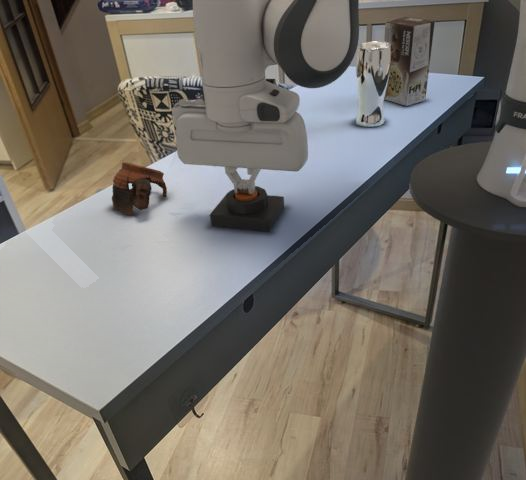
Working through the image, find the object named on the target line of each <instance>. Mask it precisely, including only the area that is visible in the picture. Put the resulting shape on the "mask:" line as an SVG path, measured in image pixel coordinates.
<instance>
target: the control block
mask: <svg viewBox="0 0 526 480" xmlns="http://www.w3.org/2000/svg"><path fill="white" fill-rule="evenodd" d="M255 190H256V191H257V194H258V197H257V198H255V199H253V200H248V201H240V200H237V199H235V191H234V188H233V189H231V190H229V191H228V192H227V193H226V194H225V195H224V196H223V198H222V199H221V200H220V201H219V202H218V204H217V205H216V206H215V208H213V210H212V211H211V212H210V213H209V218H210V224H211V227H214V228H215V227H216V228H225V229H236V230H243V231H244V230H245V231H254V232H265V233H271V231H272V230H273V228H274V227H275V225H276V224H277V221H279V218H280V217H281V215H282V214H283V211H284V210H285V197H284V196H282V195H281V196H280V195H268V192H267V191H266V189H265V188H263V187H261V186H258V185H255Z"/></svg>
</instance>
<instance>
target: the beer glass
mask: <svg viewBox="0 0 526 480" xmlns="http://www.w3.org/2000/svg"><path fill="white" fill-rule="evenodd" d="M355 63H356V65H355V80H356V82H355V83H356V90H357V98H358V109H357V114H356V119H355V124H356V125H358V126H360V127H364V128H374V127H379V126H381V125H383V124H384V123H385V115H384V105H385V99H384V98H385V94H386V90H387V86H388V81H389V76H390V68H391V43H389V42H385V41H384V40H371V41H365V42H362V43H358V46H357V54H356V62H355Z"/></svg>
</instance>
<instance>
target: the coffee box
mask: <svg viewBox="0 0 526 480" xmlns="http://www.w3.org/2000/svg"><path fill="white" fill-rule="evenodd" d="M384 24H385V25H384V40H383V41H385V42H389V43H391V68H390V76H389V81H388V86H387V90H386V94H385V98H384V101H388V102H391V103H395V104H398V105H402V106H405V107H408V106H412V105H415V104H418V103H423V102H425V101H426V98H427V91H428V82H429V72H430V64H431V57H432V48H433V39H434V32H435V24H436V20H432V19H425V18H418V17H411V16H403V17H399V18H395V19H393V20H389V21H385V23H384Z"/></svg>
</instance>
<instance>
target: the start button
mask: <svg viewBox="0 0 526 480" xmlns="http://www.w3.org/2000/svg"><path fill="white" fill-rule="evenodd" d="M257 197H258V194H257V191H256V190H255V192H254V193H253V195H251V194H238V193H235V199H237V200H240V201H248V200H253V199H255V198H257Z"/></svg>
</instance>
